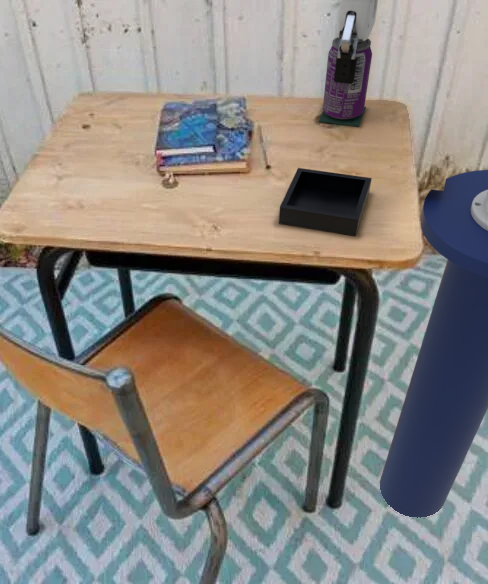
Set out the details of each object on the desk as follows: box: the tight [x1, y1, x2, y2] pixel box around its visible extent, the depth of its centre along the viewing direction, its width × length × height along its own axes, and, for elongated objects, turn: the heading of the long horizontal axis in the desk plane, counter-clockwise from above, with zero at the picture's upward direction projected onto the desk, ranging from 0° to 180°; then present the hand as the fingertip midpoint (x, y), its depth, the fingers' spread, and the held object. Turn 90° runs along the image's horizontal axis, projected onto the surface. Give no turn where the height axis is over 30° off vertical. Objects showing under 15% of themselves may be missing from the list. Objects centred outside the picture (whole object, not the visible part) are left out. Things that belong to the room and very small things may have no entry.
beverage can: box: [322, 35, 373, 120], centre depth 109 cm, size 7×7×12 cm
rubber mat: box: [318, 106, 367, 128], centre depth 114 cm, size 7×7×1 cm
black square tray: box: [278, 167, 373, 237], centre depth 94 cm, size 11×11×3 cm
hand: (348, 71), depth 109 cm, fingers closed on beverage can, 7 cm apart
